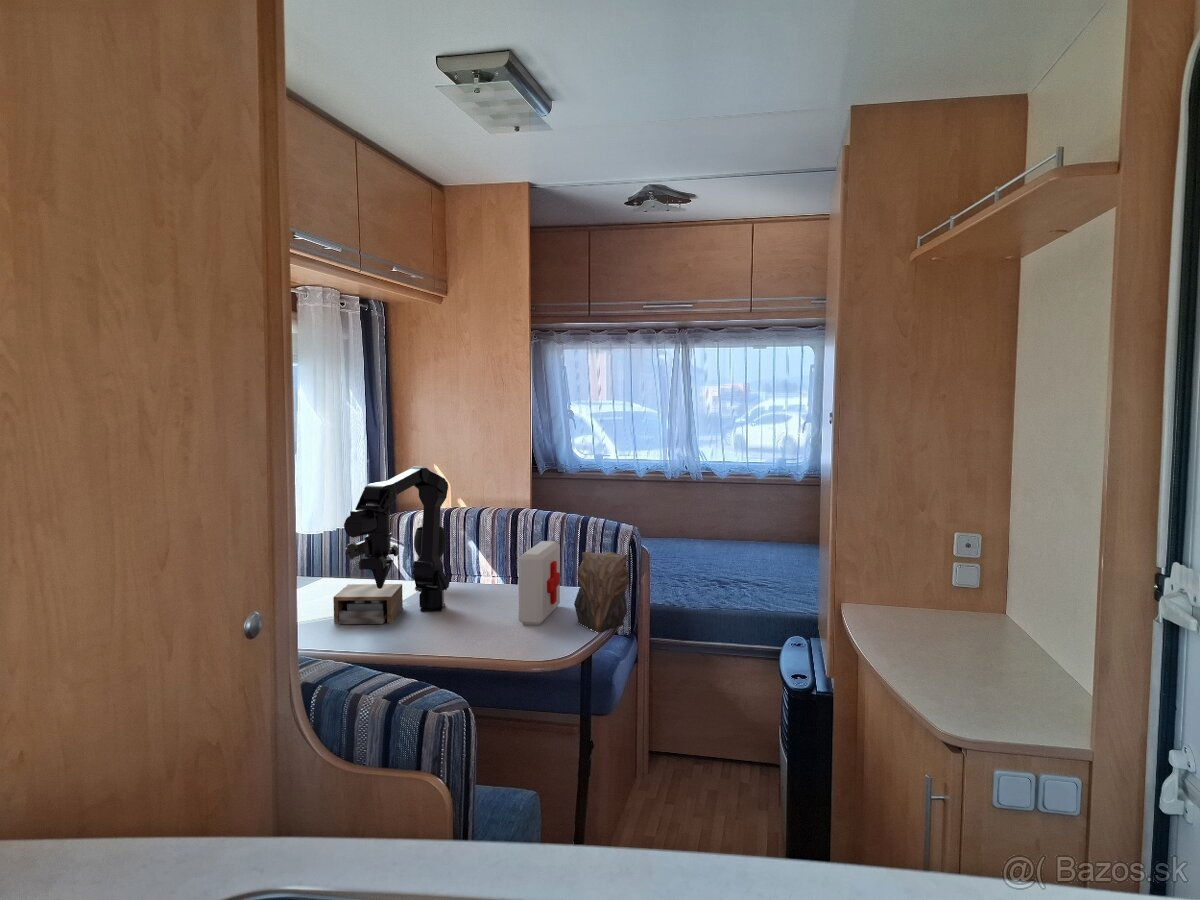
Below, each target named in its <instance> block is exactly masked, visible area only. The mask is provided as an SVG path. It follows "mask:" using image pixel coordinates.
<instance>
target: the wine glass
mask: <svg viewBox="0 0 1200 900" xmlns="http://www.w3.org/2000/svg"><path fill="white" fill-rule="evenodd" d="M422 527H423V526H419V527H417V528H416V530H415V533H414V538H413V539H414V540H413V548H414V551H415V553H416V555H417V556H418V558H419V557H420V556H421V546H422ZM446 549H447V536H446V532H445V529H444V527H443V526H440V528H439V547H438V556H439V558H440V559H441V558H442V556H443V555H444V553H445V551H446ZM414 589H416V590H415V591H417V590H418V591H417V592H421V588H416V586H415V587H414Z"/></svg>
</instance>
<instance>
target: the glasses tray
mask: <svg viewBox="0 0 1200 900" xmlns="http://www.w3.org/2000/svg"><path fill="white" fill-rule="evenodd" d="M357 610H384V614H385V613H386V612H387V600H351V601H350V602H349V603H348V604H347V611H357Z"/></svg>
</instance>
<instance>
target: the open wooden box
mask: <svg viewBox="0 0 1200 900" xmlns="http://www.w3.org/2000/svg"><path fill="white" fill-rule="evenodd" d="M332 600H333V624H339V611H347V604H348V603H349V602H350V601H351V600H387V619H386V621H387V624H388V623H389V624H392V623H393V621H394V620H395V619H396V618H397V617H398V615H399V614H400V613H401V612H402V610H403V609H404V608H403V607H404V605H403V604H404V603H403V602H404V601H403V583H384V585H383V587H382V588H381V589H378V588H377V585H376V583H373V584H372V583H371V584H370V583H364V584H362V583H361V584H360V583H359V584H357V583H356V584H355V583H354V584H353V583H352V584H351V583H349V584H347V585H345V587H343V588H342V589H341V590H339V592H337V593H336V594H335V595H334V596H333V598H332Z"/></svg>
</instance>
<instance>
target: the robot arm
mask: <svg viewBox="0 0 1200 900" xmlns="http://www.w3.org/2000/svg"><path fill="white" fill-rule="evenodd" d="M412 487H414V488H416V489H417V490H418V498H419V501H421V505H423V508H422V510H423V511H422V513H423V514H422V526H421V527H422V546H421V556H420V557H419V556H418V559H417V560H414V562H413V565H412V566H413V567H412V568H413V571H412V575H413V580H414V584H415V587H416V588H421V591H420V593H419V594H418V595H419V596H418V597H419V611H421V612H424V611H425V612H428V611H429V612H433V611H434V612H435V611H439V612H441V611H443V610H444V608H445V607H446V603H445V591H447V590H448V588H449V587H450V579H449V577H447V575H446V574H445V573H444V564H443V562H442V560H441V557H440V558H439V556H438V547H439V528H440V527H441V526H440V525H441V523H440V522H441V507H442V505H443V504H444V502H445V501H446V499H447V497H448V490H449V483H448V481H447V480H446V478H444V477H443V476H441V475H439V474H437V473H435V472H434V471H432V470H430V469H429V468H427V467H425V466H416V465H415V466H412V467H411V466H410V467H409V468H408V469H406V470H405V471H403V472H401V473H399V474H397V475H395V476H393V477H391V478H390V479H387V480H385V481H378V482H373V483H369V484H367V485H365V487H364V488H363V491H362V492H361V493H362V494H361V495H360V497H359V500H358V502H357V505H356V507H355V509H354V510H353V509H352V510H350V511H349V512H350V513H349V514H350V515H348V516H347V517H346V519H344V520H345V521H344V524H343V527H344V531H345V533H346V535H348V536H349V538H350V537H351V538H352V539H353V538H358V537H362V536H365V537H364V540H361V541H359V542H357V543H356V542H352V543H348V544H347V545H346V547H345V548H344V550H345V552H344V553H345V555H346V556H347V557H348V559H349V560H352V559H355V558H356V557H359V556H362V555H364V556H363V557H362V558H361V559H360V560H359V561H358V570H361V571H362V570H370V571H371V573H372V574H373V577H374V582H375V584H376V585H377V588H378V589H381V588H382V587H383V585H384V584H385V582H386V579H387V577H388V574H389V572H390V569H391V568H392V564H393V563H394V559H389V555H393V556H394V557H397V556H398V555H399V547H398V546H397V545H396V544H391V538H392V537H393V533H392V532H391V524H390V523H391V519H390V515H391V513H395V509H394V508H393V507H392V506H391V504H393V503H394V502H395V501H396V500H397V497H398V495H399V494H401V493H403V492H405V491H407V490H408V489H410V488H412Z"/></svg>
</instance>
